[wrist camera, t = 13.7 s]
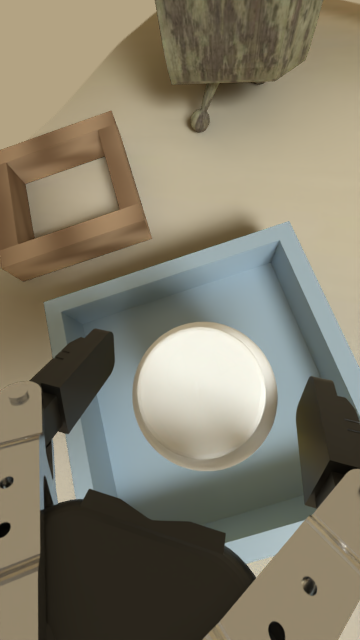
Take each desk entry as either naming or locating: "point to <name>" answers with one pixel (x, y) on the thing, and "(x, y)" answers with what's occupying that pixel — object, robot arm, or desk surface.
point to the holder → (78, 240)
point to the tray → (236, 312)
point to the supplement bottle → (204, 396)
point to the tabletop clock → (233, 42)
